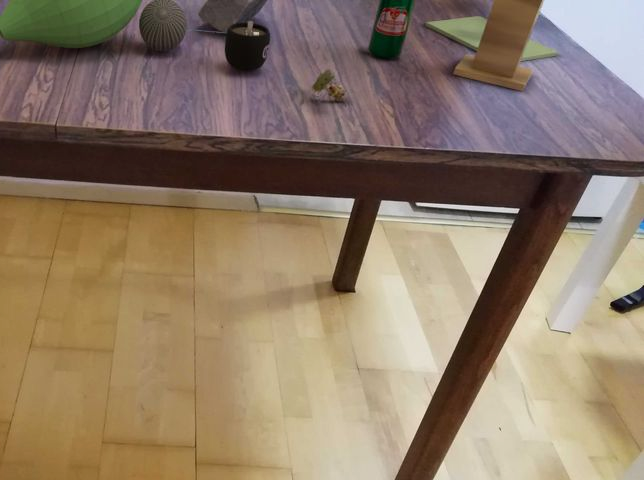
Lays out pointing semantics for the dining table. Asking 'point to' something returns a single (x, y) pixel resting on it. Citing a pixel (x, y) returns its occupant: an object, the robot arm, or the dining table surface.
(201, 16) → the rock
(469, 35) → the mat
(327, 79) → the soldier figurine
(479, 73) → the stand
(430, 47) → the dining table surface
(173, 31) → the lollipop
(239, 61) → the mug
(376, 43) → the soda can
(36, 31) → the balloon
